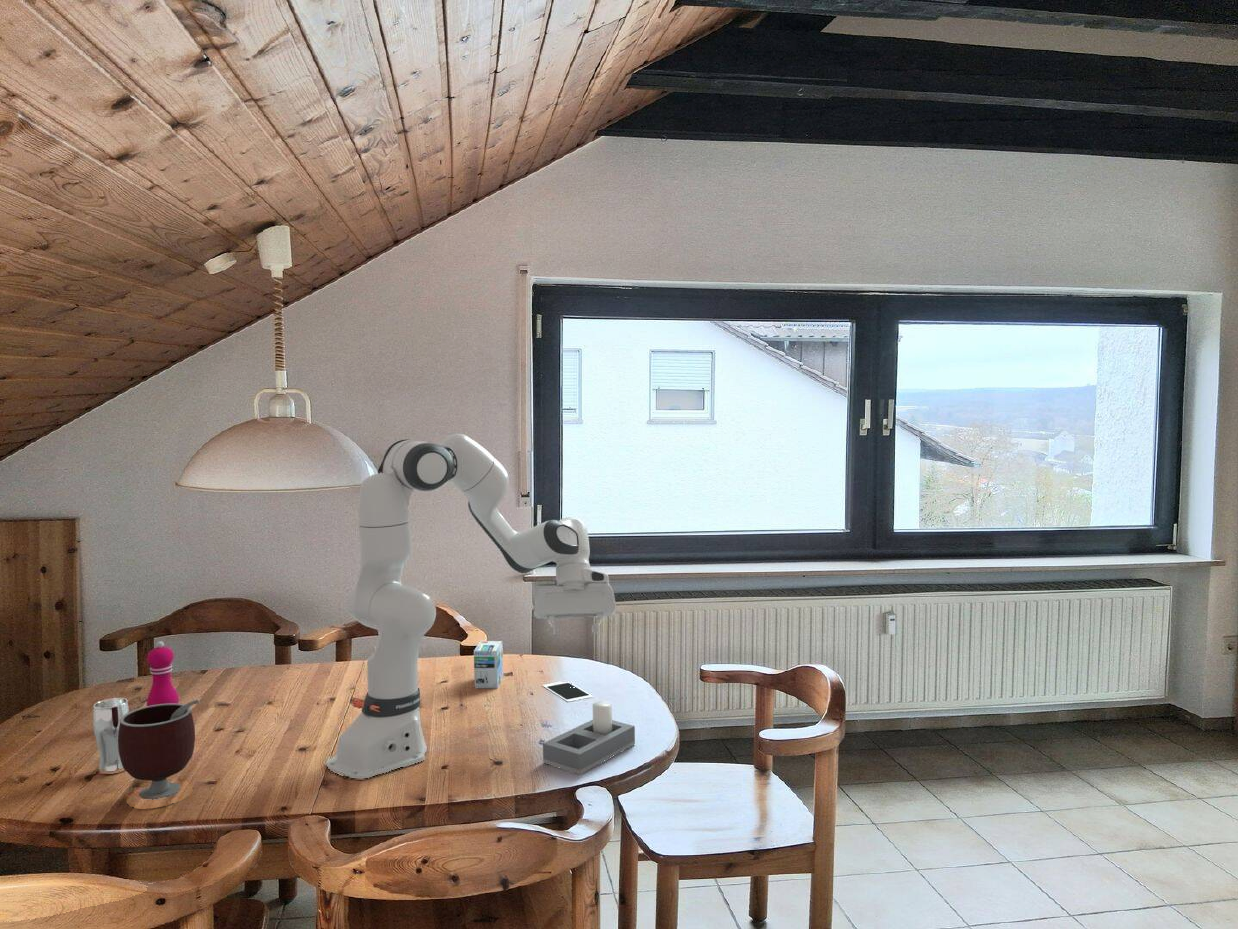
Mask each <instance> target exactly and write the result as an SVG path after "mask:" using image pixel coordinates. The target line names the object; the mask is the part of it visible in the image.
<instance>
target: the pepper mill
mask: <svg viewBox="0 0 1238 929" xmlns="http://www.w3.org/2000/svg"><path fill="white" fill-rule="evenodd" d="M174 658H175V655H174V652H173V650H172V649H171V648H170V647H168V646H165V644H164V641H162V640H161V641H160V640H159V641H157V642H156V644H155V648H153V649H151V650H150V651H148V654H147V657H146V662H147V664H149V665H150V668H149V670H150V671H149V673H150V674H151V675H152V676H151V677H152V683H151V688H150V691H149V693H148V696H147V699H146V706H151V705H158V704H169V703H177V704H179V701H180V700H179V694H178V692H177V690H176V689H175V687H174V685H173V683H172V680H171V674H172V671H173V665H172V662H173V661H174Z"/></svg>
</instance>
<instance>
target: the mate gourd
mask: <svg viewBox="0 0 1238 929" xmlns="http://www.w3.org/2000/svg"><path fill="white" fill-rule="evenodd" d="M198 703H199V699H193V700H191V701H189V702H186V703H185V704H184V703H178V704H177V703H169V704H158V705H151V706H147V705H146V706H143V707H139V708H136V709H133V710H131V711H129V712H128V713H126V714H125V715H123V716H122V717H121V718H120V726H119V733H118V751H119V756H120V760H121V763H122V766H123V768H124V770H125V771H124V772H127V774H129V775H130V777H132V778H133V779H136V780H138V781H139V780H140V781H151V783H150V784H151V786H150V787H147V788H145V789H143V790H142V791H141V792H140V793H139V796H140V797H141V798H143V799H152V800H153V799H158V798H163V797H169V796H171V795H173V794H175V793H176V792H178V791H179V790H180V785H179V784H176V783H169V782H168V780H169V779H168V778H169V777H172V776H174V775H176V774H178V773H180V772H181V771H183V770H185V768H186V767H187V765H188V763H189V762H190V761H191V759H192V758H193V754H194V752H195V751H194V750H195V745H196V744H195V742H196V730H195V729H196V727H195V723H194V717H193V714H192V709H191V706H193V705H197V704H198Z"/></svg>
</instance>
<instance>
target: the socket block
mask: <svg viewBox="0 0 1238 929" xmlns="http://www.w3.org/2000/svg"><path fill="white" fill-rule="evenodd" d="M635 728H636V727H635V725H631V724H629V723H624V722H620V721H616V720H613V719H612V732H611V733H609V734H607V735H602V734H598V733H594V732H593V719H591V720H589V721H588V722H584V723H583V724H581V725H578V726H576V727H574V728H572V729H570V730H568V731H565V732H564V733H562V734H560V735H558V736H556V737H552V738H551V739H549V740H547V741H544V742H542V764H544V763H546V764H545V765H547V764H549V765H548V766H550V765H552V766H551V767H554V766H555V767H554V768H557V767H560V768H562V769H561V770H563V769H565V770H564V771H566V770H568V771H567V772H569V771H571V772H570V773H573V774H576V773H578V774H577V775H579V774H581V775H582V773H583V774H585V773H586V772H588V771H590V770H591V769H590V768H592V767H594V768H595V767H597V766H599V765H600V764H599V763H601V762H603V761H604V760H606V761H608V760H610V759H611V758H610V757H612V756H613V755H615V754H617V755H619V754H621V753H622V752H621V751H623V750H625V749H626V748H628V749H630V748H632V747H634V746H635V745H636V737H635V736H636V729H635ZM634 744H635V745H634ZM633 745H634V746H633ZM631 746H632V747H631ZM625 751H626V750H625ZM620 752H621V753H620ZM623 752H624V751H623ZM618 753H619V754H618ZM609 758H610V759H609ZM612 758H613V757H612ZM607 759H608V760H607ZM603 763H604V762H603ZM598 764H599V765H598ZM601 764H602V763H601ZM596 765H597V766H596ZM560 768H559V769H560ZM589 769H590V770H589ZM592 769H593V768H592ZM587 770H588V771H587Z"/></svg>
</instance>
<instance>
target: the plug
mask: <svg viewBox="0 0 1238 929" xmlns="http://www.w3.org/2000/svg"><path fill="white" fill-rule="evenodd" d="M592 720H593V732H594V733H598V734H602V735H607V734H609V733H611V732H612V720H613V704H612V703H611V702H609V701H603V700H602V701H595V702H594V703H592Z"/></svg>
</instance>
